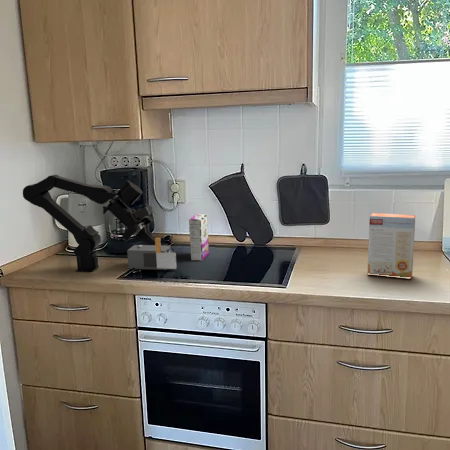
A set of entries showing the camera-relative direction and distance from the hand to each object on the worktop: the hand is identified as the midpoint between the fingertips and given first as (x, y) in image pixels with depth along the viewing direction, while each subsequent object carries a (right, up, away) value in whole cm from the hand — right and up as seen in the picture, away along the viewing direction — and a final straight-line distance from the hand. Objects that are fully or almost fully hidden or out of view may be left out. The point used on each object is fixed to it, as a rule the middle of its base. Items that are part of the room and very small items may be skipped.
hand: (155, 244), depth 168 cm
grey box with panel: (-3, -9, +7) cm, 12 cm away
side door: (+4, -10, +2) cm, 10 cm away
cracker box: (+80, -11, -9) cm, 82 cm away
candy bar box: (+15, -6, +19) cm, 25 cm away
